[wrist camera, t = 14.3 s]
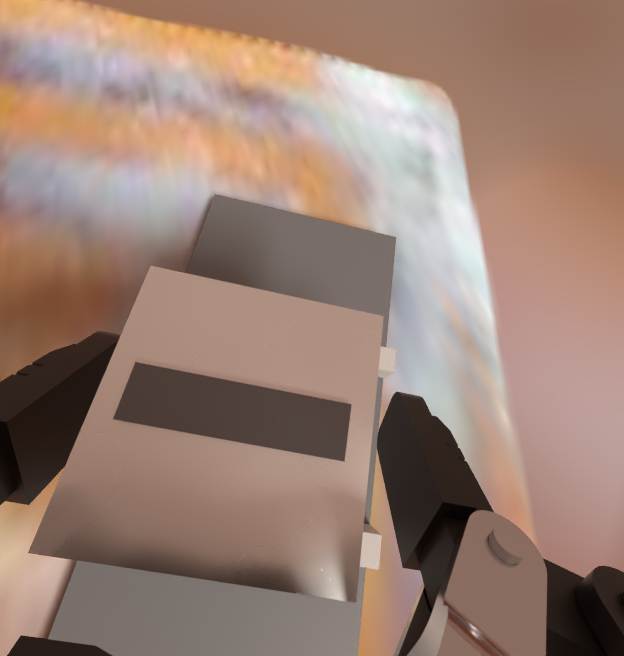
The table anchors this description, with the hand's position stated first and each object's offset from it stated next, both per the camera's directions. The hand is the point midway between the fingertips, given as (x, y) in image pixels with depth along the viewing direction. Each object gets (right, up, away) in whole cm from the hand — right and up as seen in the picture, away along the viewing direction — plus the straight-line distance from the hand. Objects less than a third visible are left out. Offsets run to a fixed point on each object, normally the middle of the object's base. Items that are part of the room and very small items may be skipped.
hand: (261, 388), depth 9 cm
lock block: (-1, -3, +6) cm, 6 cm away
